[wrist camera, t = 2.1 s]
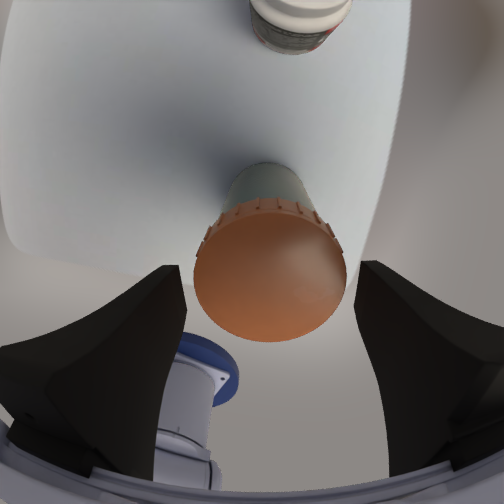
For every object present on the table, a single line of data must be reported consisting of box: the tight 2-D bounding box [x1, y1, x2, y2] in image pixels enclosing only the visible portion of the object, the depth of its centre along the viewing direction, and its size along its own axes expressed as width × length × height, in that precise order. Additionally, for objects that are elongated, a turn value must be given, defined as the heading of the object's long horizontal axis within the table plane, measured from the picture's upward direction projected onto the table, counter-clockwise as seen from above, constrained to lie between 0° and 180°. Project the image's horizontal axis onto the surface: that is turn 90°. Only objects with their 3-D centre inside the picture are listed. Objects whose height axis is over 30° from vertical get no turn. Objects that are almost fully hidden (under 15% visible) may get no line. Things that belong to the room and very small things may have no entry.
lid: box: [193, 197, 347, 342], centre depth 11 cm, size 6×6×2 cm
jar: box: [218, 163, 316, 219], centre depth 16 cm, size 5×5×10 cm
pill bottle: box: [249, 0, 352, 55], centre depth 11 cm, size 5×5×8 cm
